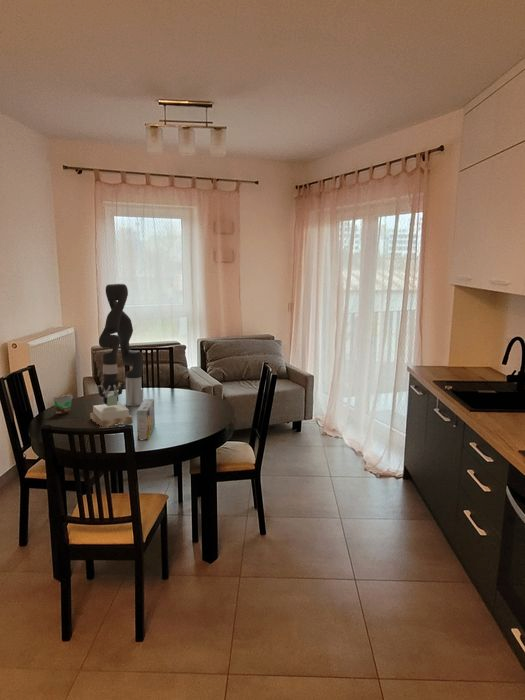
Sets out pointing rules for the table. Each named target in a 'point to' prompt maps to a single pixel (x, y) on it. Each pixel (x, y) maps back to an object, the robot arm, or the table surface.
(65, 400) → the food container
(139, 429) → the snack box
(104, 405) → the tower top slab
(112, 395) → the sage block
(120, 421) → the tower bottom slab
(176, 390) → the table surface
